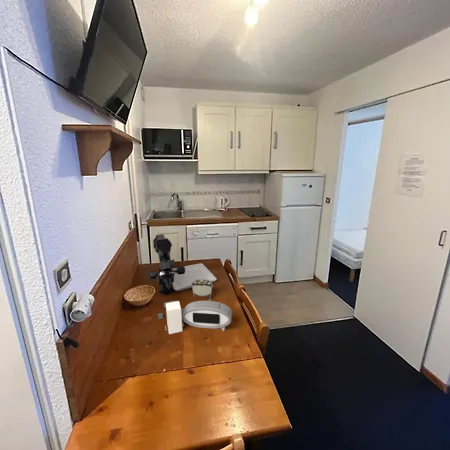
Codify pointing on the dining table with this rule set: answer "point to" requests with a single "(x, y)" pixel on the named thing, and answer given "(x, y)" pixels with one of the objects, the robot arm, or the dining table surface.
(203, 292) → the food container
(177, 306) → the block
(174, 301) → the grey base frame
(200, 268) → the square plate
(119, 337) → the dining table surface
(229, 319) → the alarm clock
